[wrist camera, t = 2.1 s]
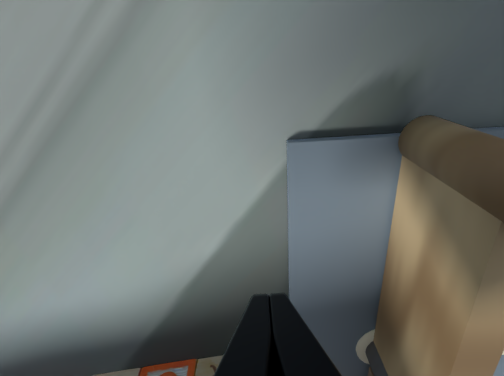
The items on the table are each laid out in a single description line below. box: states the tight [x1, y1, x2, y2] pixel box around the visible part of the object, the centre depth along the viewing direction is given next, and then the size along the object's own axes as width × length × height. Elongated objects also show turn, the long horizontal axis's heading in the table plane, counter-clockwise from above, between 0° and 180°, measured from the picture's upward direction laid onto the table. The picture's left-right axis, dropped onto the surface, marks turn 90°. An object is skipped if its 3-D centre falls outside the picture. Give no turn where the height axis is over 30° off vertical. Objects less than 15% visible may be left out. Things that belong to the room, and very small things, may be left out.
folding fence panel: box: [365, 115, 504, 376], centre depth 10 cm, size 12×2×5 cm, turn 3°
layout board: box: [287, 127, 504, 376], centre depth 14 cm, size 20×16×1 cm
